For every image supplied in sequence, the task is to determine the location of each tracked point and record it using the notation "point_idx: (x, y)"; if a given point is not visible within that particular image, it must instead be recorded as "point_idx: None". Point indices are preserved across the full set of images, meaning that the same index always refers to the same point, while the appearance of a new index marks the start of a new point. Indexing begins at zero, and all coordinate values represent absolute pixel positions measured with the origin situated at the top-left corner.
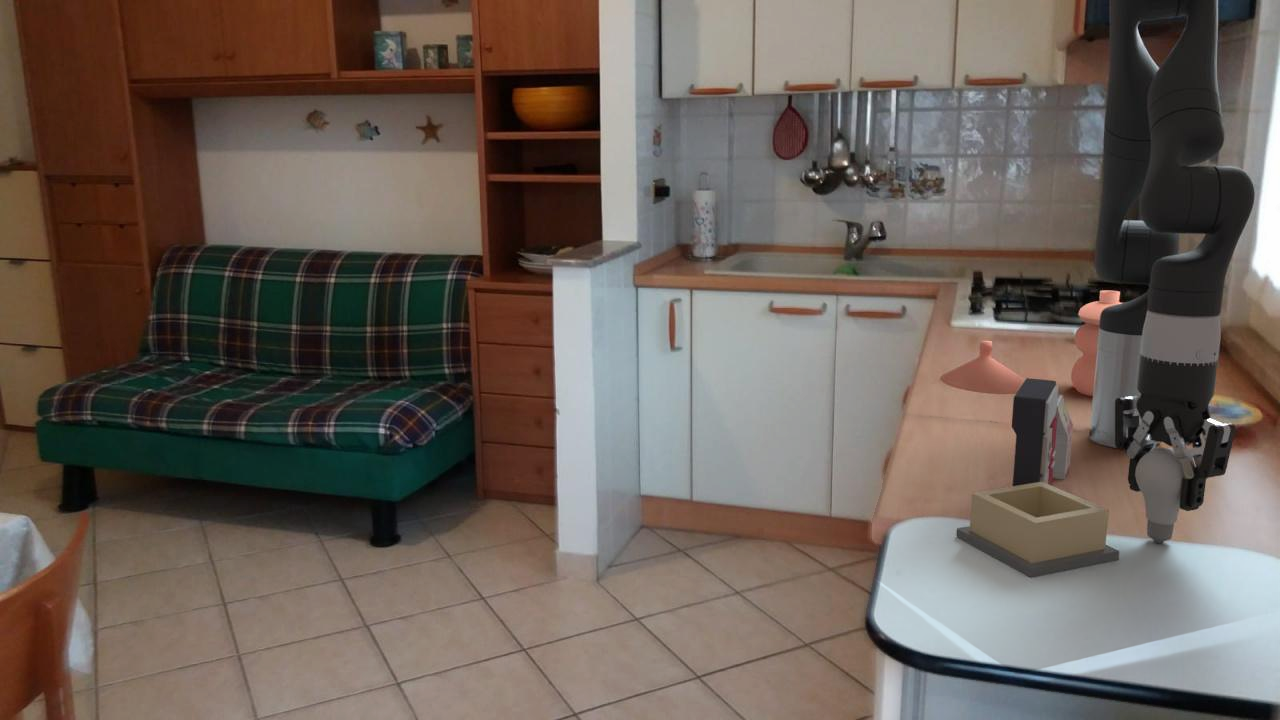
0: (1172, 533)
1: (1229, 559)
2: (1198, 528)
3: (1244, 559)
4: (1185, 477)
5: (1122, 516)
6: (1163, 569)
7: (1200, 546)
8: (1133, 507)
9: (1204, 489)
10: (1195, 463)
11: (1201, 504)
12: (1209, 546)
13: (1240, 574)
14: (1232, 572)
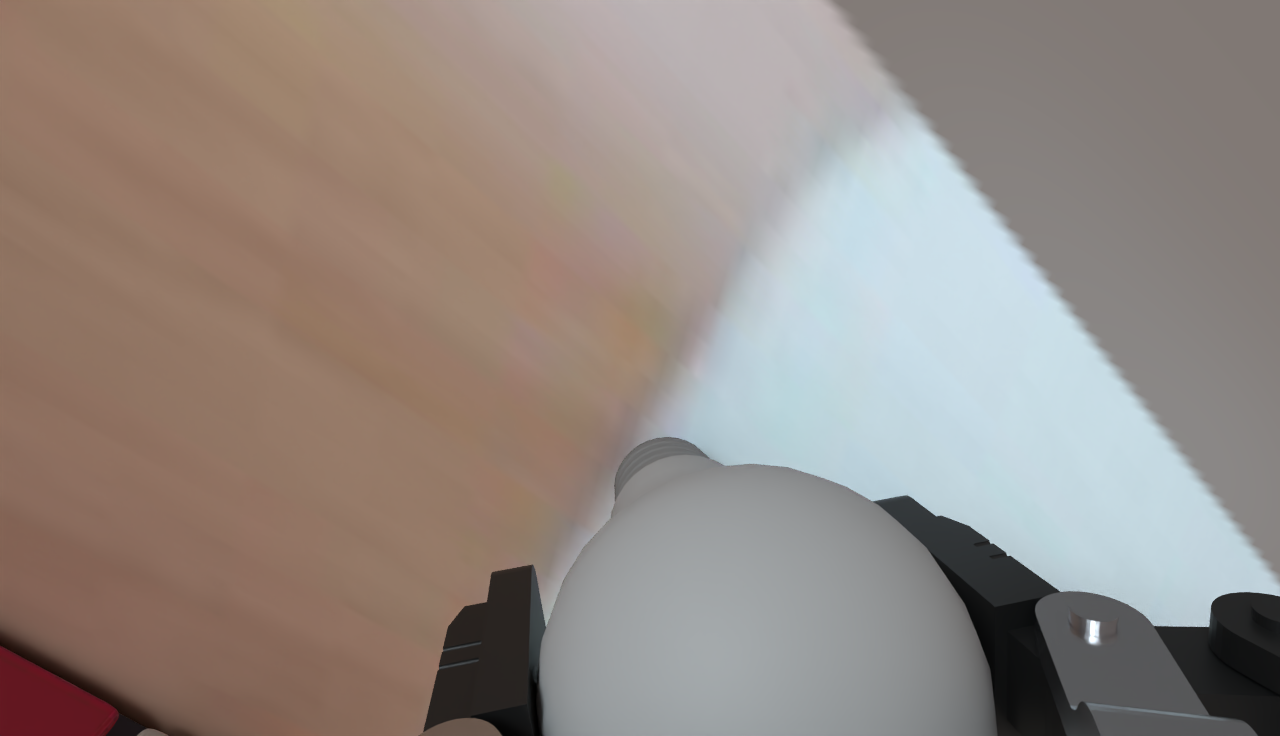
0: (706, 456)
1: (888, 316)
2: (561, 171)
3: (908, 255)
4: (1004, 729)
5: (330, 426)
6: None
7: (745, 331)
8: (207, 283)
9: (1025, 569)
10: (1055, 698)
11: (953, 524)
12: (757, 293)
13: (1002, 384)
14: (979, 399)
